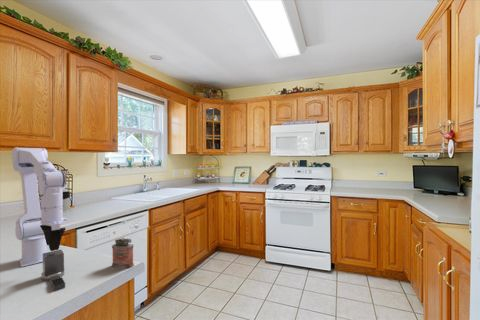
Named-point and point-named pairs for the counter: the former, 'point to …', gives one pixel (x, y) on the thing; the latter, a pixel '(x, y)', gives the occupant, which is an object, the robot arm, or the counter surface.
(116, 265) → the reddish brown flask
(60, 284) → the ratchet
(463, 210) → the counter surface
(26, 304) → the counter surface
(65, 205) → the glass holder
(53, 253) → the brushed dark grey cube
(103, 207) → the counter surface
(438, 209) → the counter surface
